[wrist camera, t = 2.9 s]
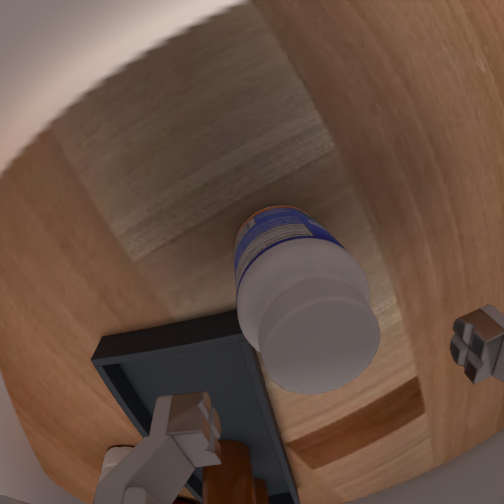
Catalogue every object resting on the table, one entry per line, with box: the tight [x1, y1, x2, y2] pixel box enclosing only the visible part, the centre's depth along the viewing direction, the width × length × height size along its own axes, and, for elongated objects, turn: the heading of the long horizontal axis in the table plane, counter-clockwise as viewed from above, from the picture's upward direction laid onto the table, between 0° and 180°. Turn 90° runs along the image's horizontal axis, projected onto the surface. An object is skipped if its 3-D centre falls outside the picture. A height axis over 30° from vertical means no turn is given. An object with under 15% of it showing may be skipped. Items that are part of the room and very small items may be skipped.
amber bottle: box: [202, 440, 257, 504], centre depth 19 cm, size 4×4×11 cm
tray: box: [91, 310, 300, 504], centre depth 24 cm, size 27×10×3 cm, turn 13°
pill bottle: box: [234, 205, 380, 394], centre depth 14 cm, size 5×5×10 cm
